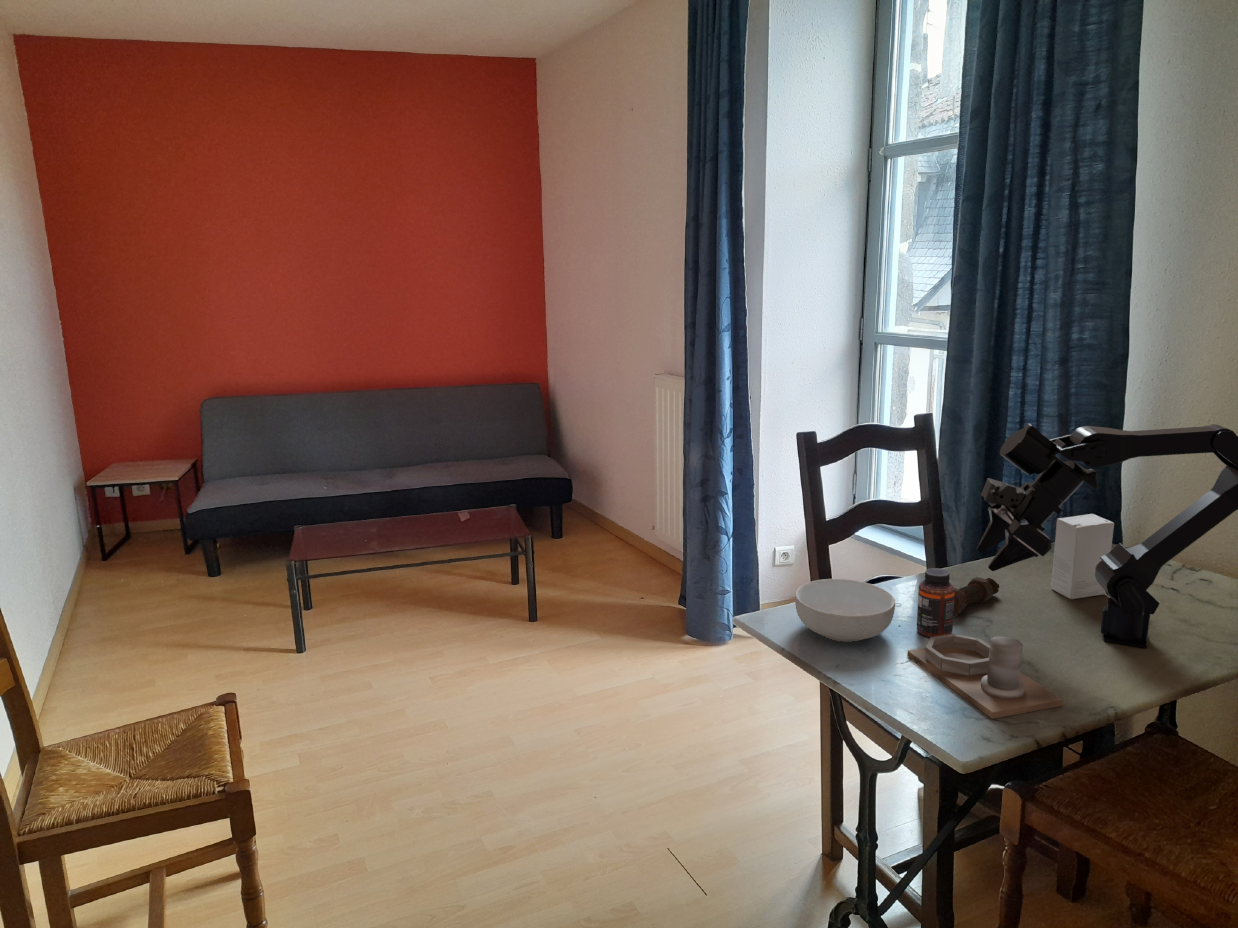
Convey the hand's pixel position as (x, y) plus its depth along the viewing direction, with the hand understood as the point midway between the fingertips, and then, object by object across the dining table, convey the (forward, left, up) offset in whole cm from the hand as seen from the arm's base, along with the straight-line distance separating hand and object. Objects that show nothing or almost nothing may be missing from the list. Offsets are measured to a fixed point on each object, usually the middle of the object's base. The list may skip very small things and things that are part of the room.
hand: (984, 559), depth 151 cm
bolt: (+3, -12, -13) cm, 18 cm away
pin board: (-3, +19, -13) cm, 23 cm away
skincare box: (-14, -27, -13) cm, 33 cm away
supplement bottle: (+7, +4, -13) cm, 16 cm away
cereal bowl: (+21, +11, -13) cm, 27 cm away
